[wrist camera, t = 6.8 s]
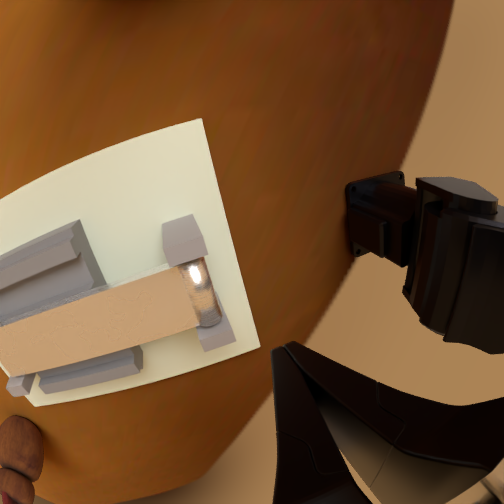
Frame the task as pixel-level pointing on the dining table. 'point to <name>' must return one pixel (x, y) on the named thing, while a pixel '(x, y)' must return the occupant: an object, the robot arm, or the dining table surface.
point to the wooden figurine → (19, 460)
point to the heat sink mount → (123, 255)
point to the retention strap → (110, 318)
